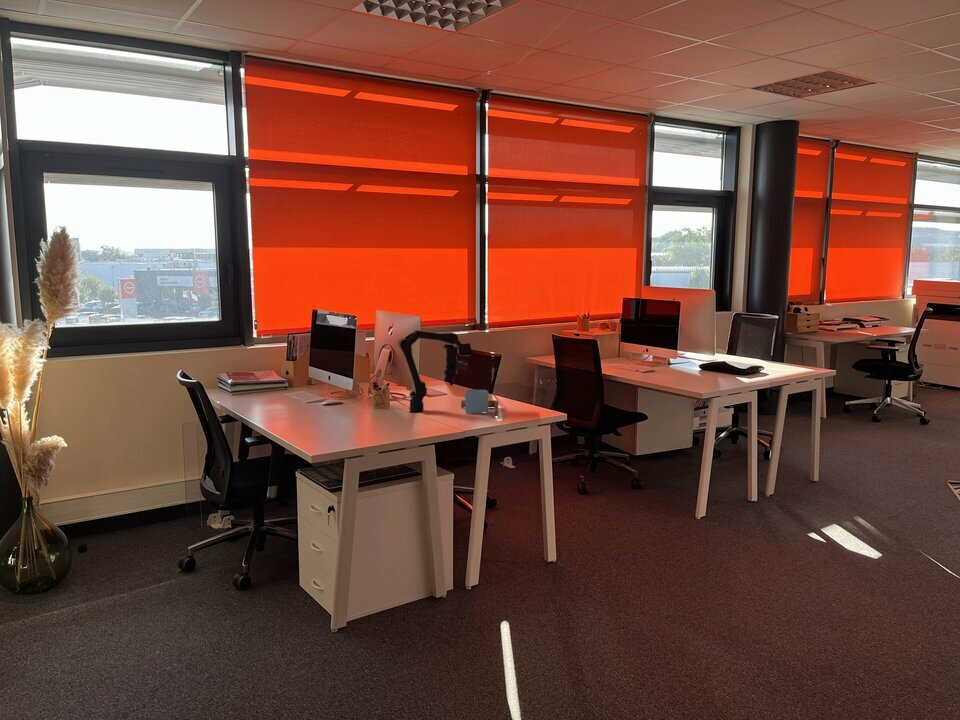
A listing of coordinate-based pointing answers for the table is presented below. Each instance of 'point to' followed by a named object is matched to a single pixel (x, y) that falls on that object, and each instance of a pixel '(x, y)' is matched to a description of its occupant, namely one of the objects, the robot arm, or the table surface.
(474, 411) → the data package
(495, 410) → the brown angled bar
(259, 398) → the table surface
